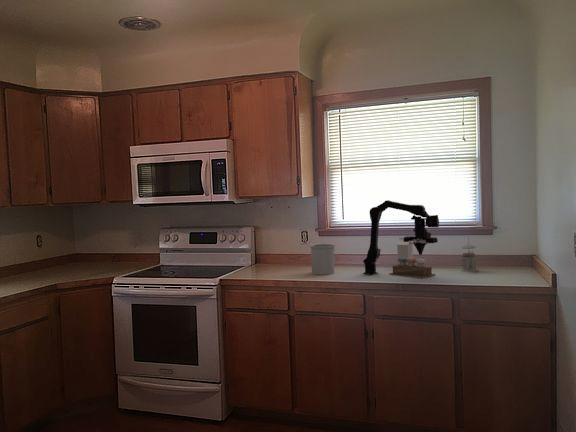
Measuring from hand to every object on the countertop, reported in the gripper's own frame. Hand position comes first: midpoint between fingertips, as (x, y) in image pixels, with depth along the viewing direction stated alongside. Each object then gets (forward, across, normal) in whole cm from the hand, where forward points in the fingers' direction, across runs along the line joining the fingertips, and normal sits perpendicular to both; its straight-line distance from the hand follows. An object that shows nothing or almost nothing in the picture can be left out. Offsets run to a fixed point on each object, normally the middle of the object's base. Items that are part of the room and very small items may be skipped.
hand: (420, 254), depth 274 cm
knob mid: (+8, +6, 0) cm, 10 cm away
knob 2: (+8, 0, 0) cm, 8 cm away
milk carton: (+12, +22, -18) cm, 31 cm away
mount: (+12, +6, 0) cm, 13 cm away
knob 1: (+8, +12, 0) cm, 14 cm away
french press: (+12, -14, -30) cm, 35 cm away
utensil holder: (+12, +53, +24) cm, 59 cm away
